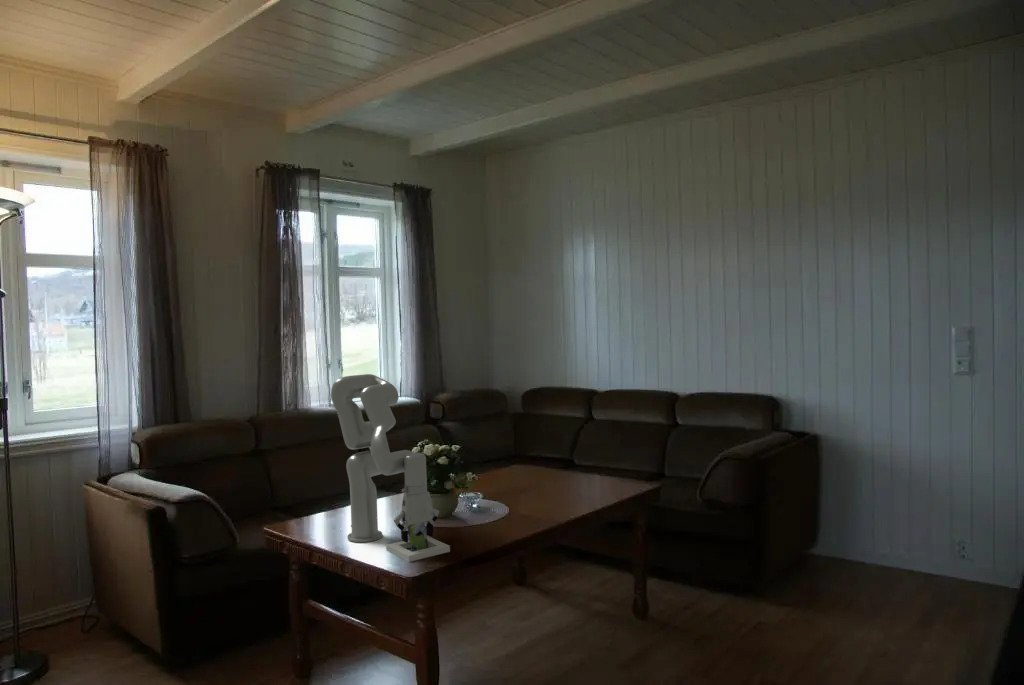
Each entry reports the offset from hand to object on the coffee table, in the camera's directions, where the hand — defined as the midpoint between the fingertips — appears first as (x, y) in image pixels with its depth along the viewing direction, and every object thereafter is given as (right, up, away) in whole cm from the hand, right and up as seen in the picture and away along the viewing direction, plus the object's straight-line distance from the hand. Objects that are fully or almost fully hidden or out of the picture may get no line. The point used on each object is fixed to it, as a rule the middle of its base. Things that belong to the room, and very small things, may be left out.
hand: (417, 538), depth 252 cm
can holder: (0, -4, 0) cm, 4 cm away
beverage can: (0, -5, 0) cm, 4 cm away
